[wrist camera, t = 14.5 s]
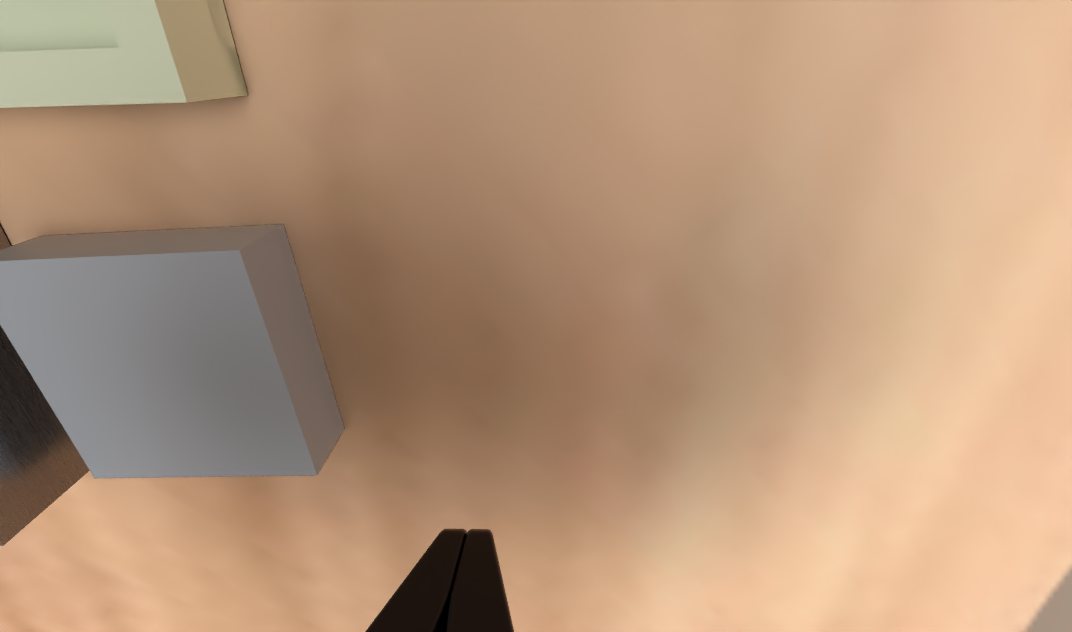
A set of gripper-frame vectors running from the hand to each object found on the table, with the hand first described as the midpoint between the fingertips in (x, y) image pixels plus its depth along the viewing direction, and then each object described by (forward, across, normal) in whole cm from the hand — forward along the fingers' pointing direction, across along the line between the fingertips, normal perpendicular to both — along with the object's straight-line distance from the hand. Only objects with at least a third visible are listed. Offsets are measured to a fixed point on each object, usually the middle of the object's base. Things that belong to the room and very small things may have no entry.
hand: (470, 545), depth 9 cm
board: (+7, +9, 0) cm, 12 cm away
